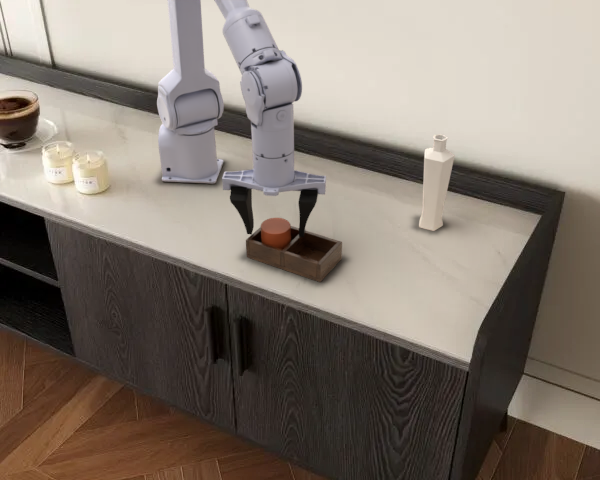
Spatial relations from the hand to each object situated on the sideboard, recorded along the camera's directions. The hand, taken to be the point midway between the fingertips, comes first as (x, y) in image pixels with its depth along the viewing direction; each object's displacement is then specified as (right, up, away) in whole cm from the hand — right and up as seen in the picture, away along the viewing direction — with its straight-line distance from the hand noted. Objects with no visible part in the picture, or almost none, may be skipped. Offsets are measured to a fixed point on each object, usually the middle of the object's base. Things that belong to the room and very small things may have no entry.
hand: (276, 231), depth 112 cm
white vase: (+24, +2, +8) cm, 25 cm away
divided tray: (+3, -4, +1) cm, 5 cm away
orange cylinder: (0, -2, +2) cm, 3 cm away
